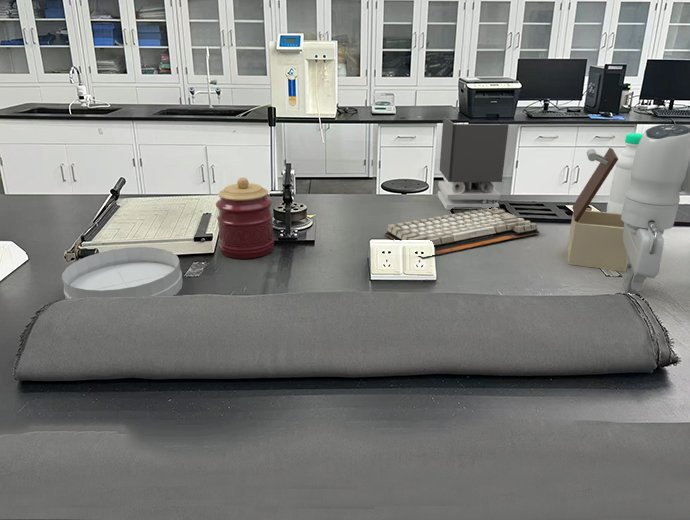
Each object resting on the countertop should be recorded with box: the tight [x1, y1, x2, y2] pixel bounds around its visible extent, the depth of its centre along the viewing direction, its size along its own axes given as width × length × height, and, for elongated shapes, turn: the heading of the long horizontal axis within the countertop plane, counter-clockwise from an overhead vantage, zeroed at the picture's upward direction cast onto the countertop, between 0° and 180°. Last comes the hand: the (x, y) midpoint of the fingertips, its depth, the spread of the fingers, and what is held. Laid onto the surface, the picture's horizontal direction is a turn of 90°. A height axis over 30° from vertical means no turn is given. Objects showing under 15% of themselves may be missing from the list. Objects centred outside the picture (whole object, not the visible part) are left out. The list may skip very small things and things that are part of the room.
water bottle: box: [606, 132, 644, 214], centre depth 140 cm, size 7×7×25 cm
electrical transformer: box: [437, 116, 509, 211], centre depth 163 cm, size 16×19×25 cm
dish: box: [61, 246, 184, 300], centre depth 107 cm, size 22×22×5 cm
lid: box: [572, 147, 619, 222], centre depth 118 cm, size 15×12×5 cm
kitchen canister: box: [215, 177, 275, 260], centre depth 125 cm, size 13×13×18 cm
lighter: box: [622, 266, 637, 295], centre depth 105 cm, size 7×2×8 cm, turn 161°
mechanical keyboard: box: [384, 207, 541, 256], centre depth 138 cm, size 38×19×3 cm, turn 117°
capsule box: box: [566, 209, 627, 273], centre depth 121 cm, size 15×12×10 cm
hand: (632, 280), depth 105 cm, fingers open, 7 cm apart
